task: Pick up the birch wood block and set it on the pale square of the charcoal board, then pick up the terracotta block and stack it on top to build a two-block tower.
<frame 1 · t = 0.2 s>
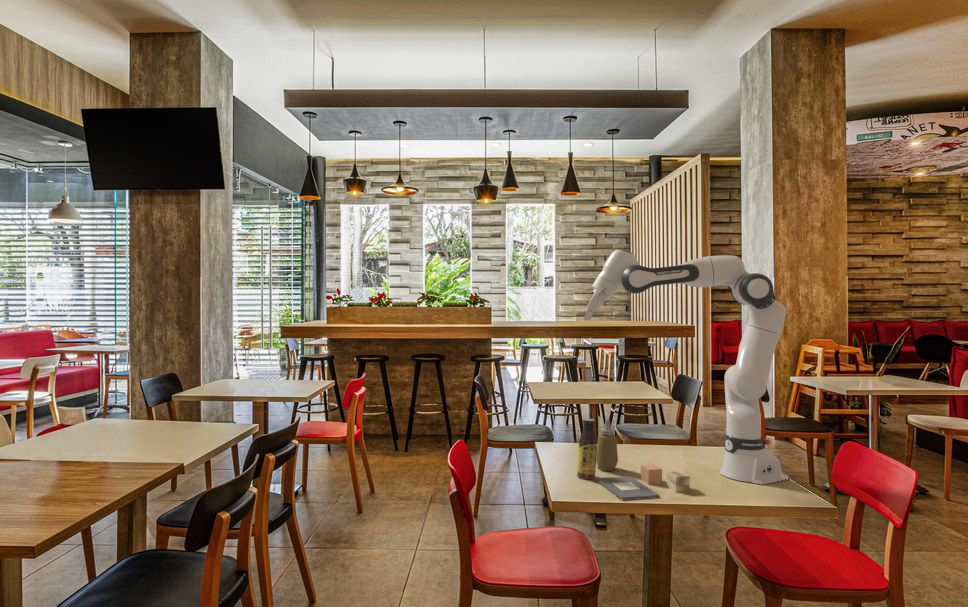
hand: (586, 319, 200), 54 cm above the table, tool tilted 30°, fingers open, 8 cm apart
terracotta block: (651, 481, 178), on the table
squeeze bottle: (606, 469, 190), on the table
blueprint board: (626, 488, 170), on the table
sauce bottle: (586, 477, 181), on the table
birch block: (678, 489, 171), on the table
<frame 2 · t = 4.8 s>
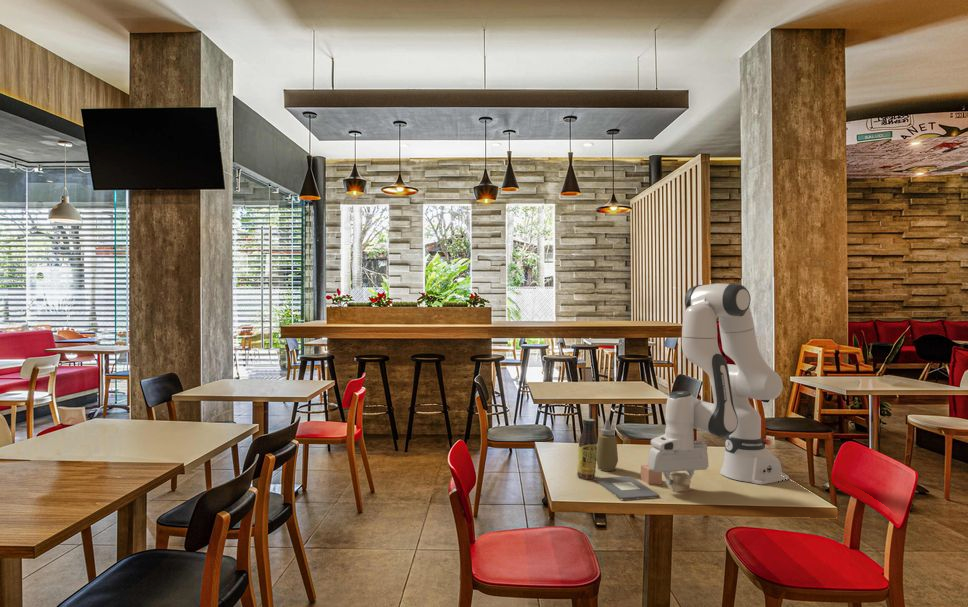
hand: (678, 483, 171), 2 cm above the table, tool pointing down, fingers closed on birch block, 5 cm apart
birch block: (678, 488, 171), on the table, touching gripper
everything else where it was.
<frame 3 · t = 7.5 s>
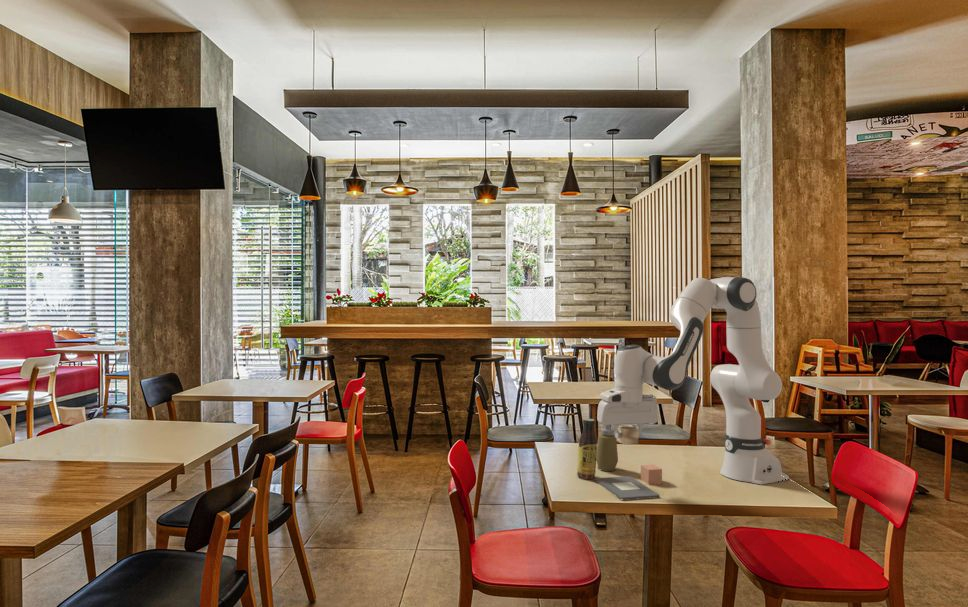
hand: (627, 437, 170), 17 cm above the table, tool pointing down, fingers closed on birch block, 5 cm apart
birch block: (627, 442, 170), point 15 cm above the table, touching gripper
everything else where it was.
when the fingers open (4 cm above the table, at t = 10.1 s): birch block drops 2 cm, resting on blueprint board.
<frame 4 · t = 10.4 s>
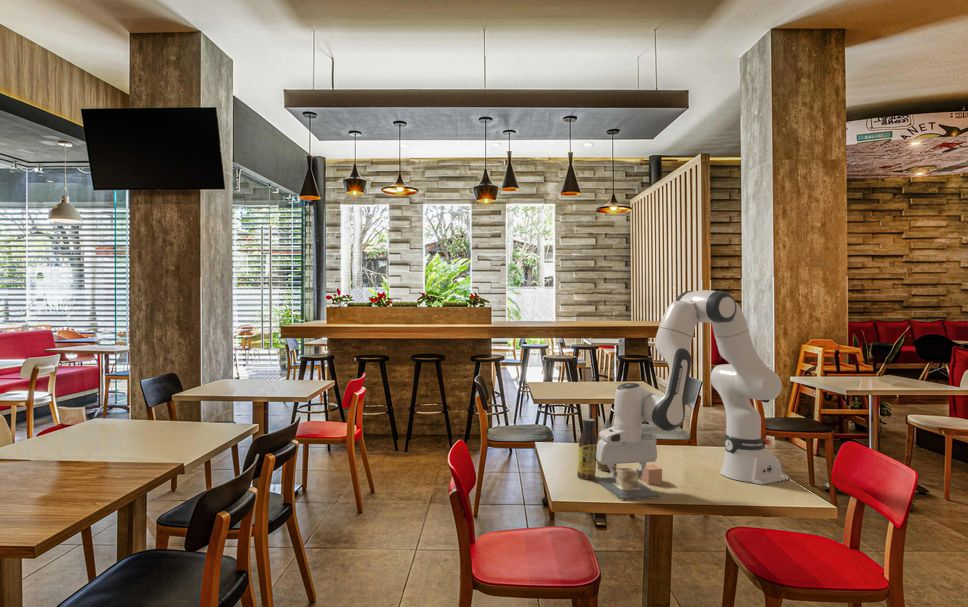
hand: (626, 476, 170), 4 cm above the table, tool pointing down, fingers open, 8 cm apart
birch block: (626, 486, 170), point 1 cm above the table, touching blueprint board
everything else where it was.
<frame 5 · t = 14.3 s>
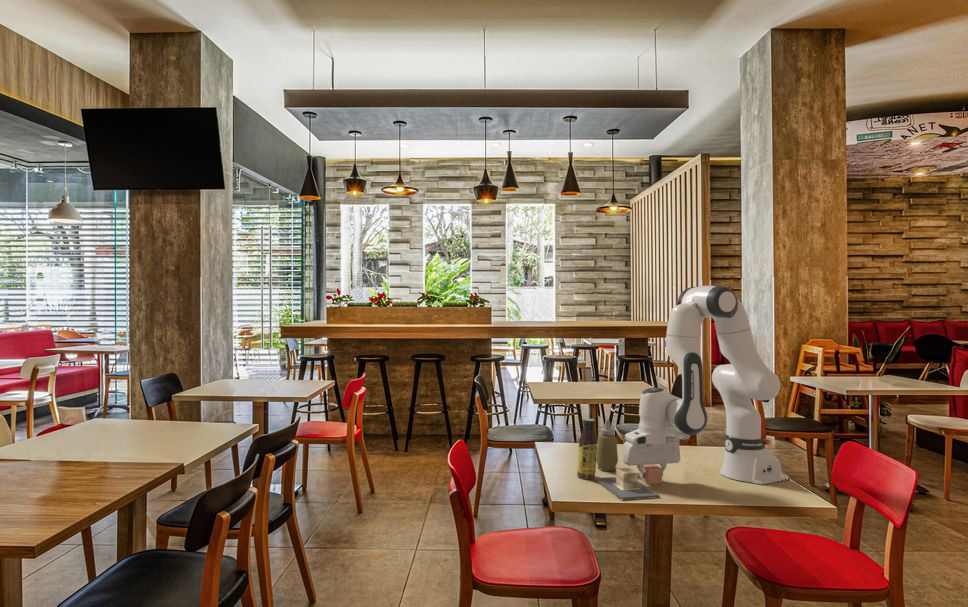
hand: (651, 476, 177), 2 cm above the table, tool pointing down, fingers closed on terracotta block, 5 cm apart
terracotta block: (651, 481, 178), on the table, touching gripper
everything else where it was.
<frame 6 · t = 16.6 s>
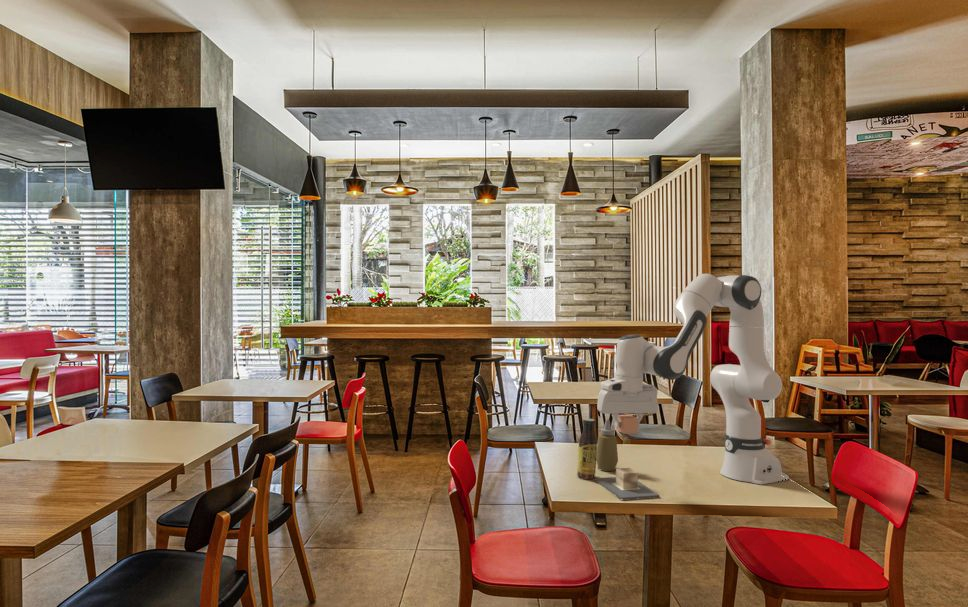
hand: (627, 426, 170), 20 cm above the table, tool pointing down, fingers closed on terracotta block, 5 cm apart
terracotta block: (626, 431, 170), point 18 cm above the table, touching gripper
everything else where it was.
when the fingers open (9 cm above the table, at t = 18.9 s): terracotta block drops 2 cm, resting on birch block.
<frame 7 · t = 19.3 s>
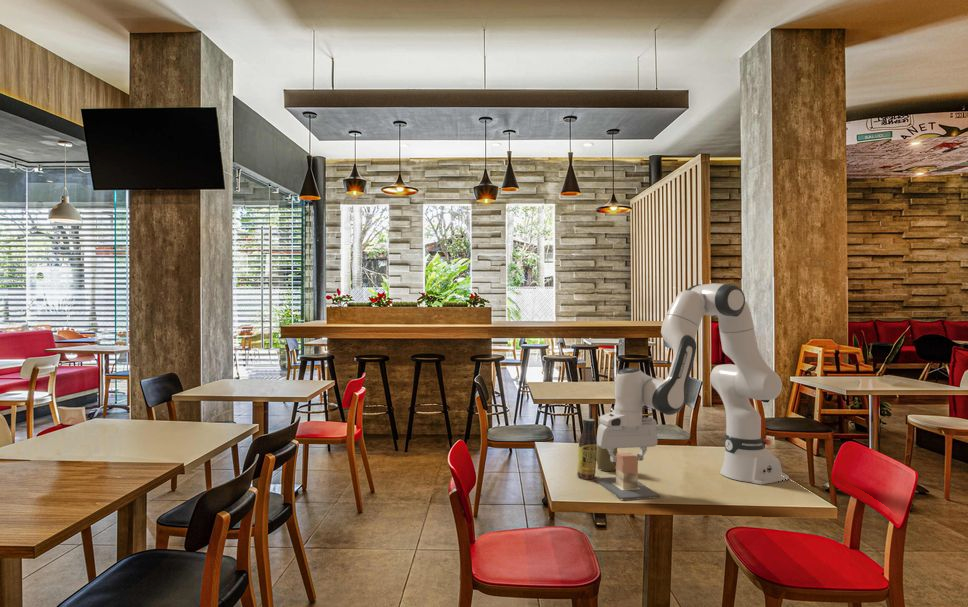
hand: (626, 460, 170), 9 cm above the table, tool pointing down, fingers open, 8 cm apart
terracotta block: (626, 470, 170), point 6 cm above the table, touching birch block
birch block: (626, 486, 170), point 1 cm above the table, touching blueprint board, terracotta block
everything else where it was.
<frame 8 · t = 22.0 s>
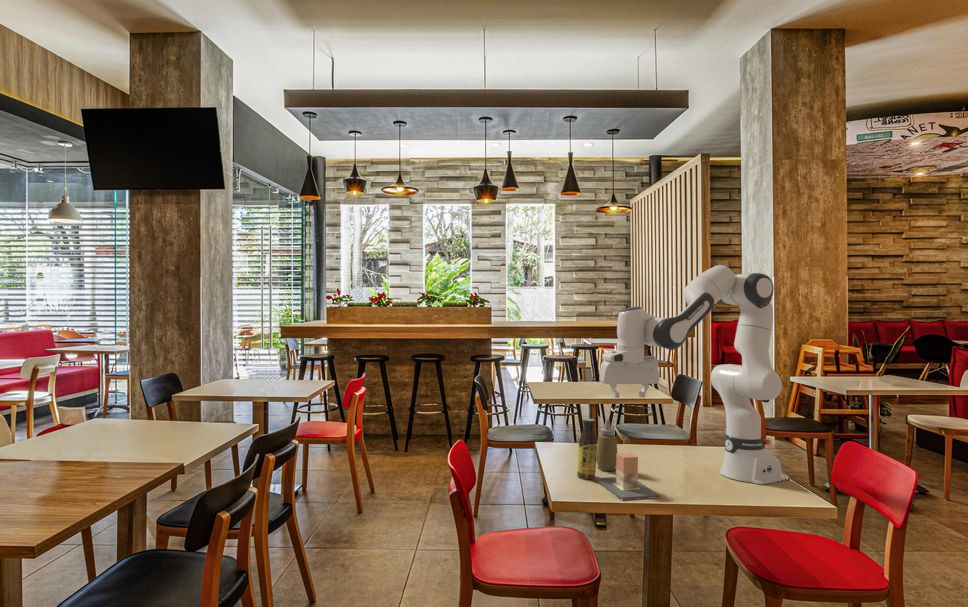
hand: (629, 397, 173), 29 cm above the table, tool pointing down, fingers open, 8 cm apart
nothing on the table moved.
at the end: birch block 0.1 cm off-centre on the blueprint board, point 0.9 cm above the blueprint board's base; terracotta block 0.1 cm off-centre on the birch block, point 5.0 cm above the birch block's base; terracotta block tilted 0° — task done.
